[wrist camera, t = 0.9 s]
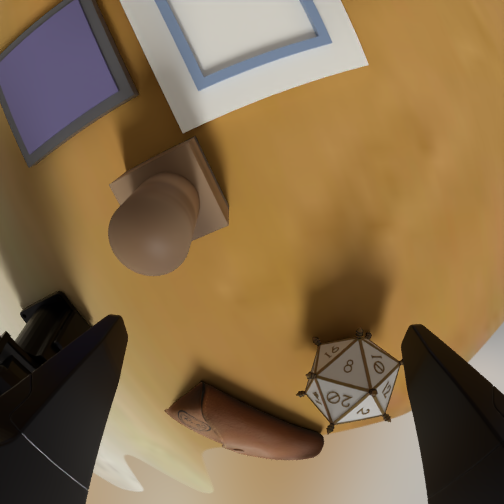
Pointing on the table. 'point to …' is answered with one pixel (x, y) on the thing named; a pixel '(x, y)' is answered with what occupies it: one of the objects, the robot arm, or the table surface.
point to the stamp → (165, 209)
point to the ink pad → (61, 78)
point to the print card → (239, 50)
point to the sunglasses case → (243, 426)
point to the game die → (351, 380)
